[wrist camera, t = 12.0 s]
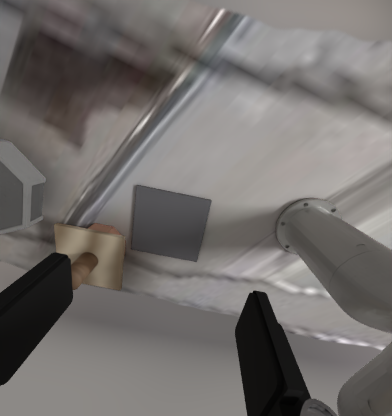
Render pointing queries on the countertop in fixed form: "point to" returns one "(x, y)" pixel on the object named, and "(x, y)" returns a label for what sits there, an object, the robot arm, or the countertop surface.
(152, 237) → the mat
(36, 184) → the first aid kit
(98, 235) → the cover
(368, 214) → the countertop surface
